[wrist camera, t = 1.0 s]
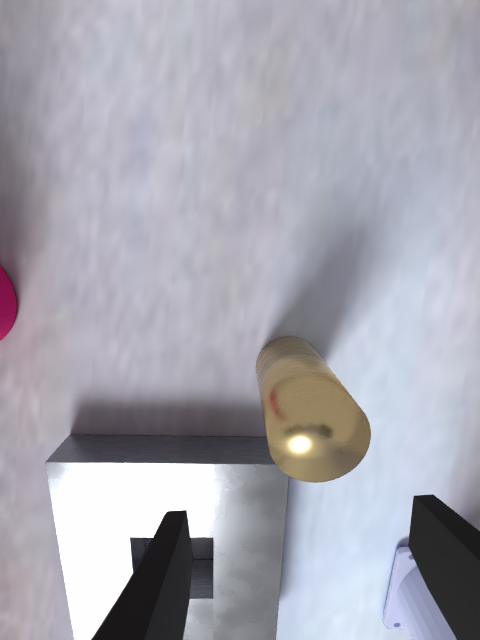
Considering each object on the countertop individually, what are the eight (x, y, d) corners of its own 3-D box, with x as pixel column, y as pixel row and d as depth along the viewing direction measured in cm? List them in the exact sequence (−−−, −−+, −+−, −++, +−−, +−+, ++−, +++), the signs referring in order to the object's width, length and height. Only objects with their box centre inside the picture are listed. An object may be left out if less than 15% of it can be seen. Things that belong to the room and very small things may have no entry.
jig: (282, 437, 19) (289, 464, 17) (270, 611, 23) (274, 654, 21) (69, 434, 19) (45, 462, 17) (93, 611, 23) (76, 654, 20)
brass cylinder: (322, 337, 18) (377, 394, 11) (316, 396, 19) (363, 482, 12) (257, 335, 18) (270, 392, 11) (254, 395, 19) (265, 482, 12)
